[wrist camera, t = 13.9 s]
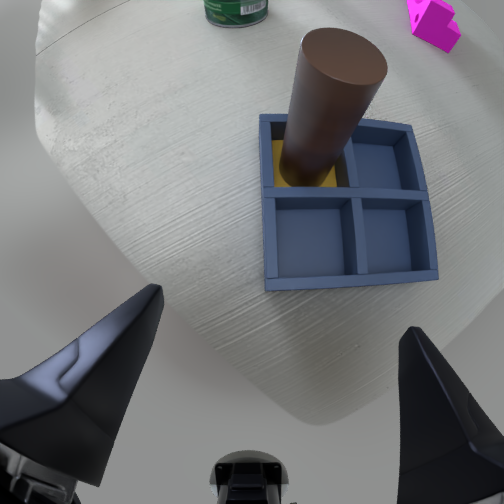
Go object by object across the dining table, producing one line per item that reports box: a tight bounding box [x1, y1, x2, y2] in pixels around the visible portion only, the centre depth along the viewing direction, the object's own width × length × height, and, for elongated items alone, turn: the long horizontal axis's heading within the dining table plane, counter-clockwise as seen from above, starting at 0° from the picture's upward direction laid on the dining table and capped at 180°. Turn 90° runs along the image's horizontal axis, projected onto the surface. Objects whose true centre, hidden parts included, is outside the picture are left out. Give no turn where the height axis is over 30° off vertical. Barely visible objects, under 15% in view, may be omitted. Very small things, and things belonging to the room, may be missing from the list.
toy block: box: [407, 0, 461, 53], centre depth 24 cm, size 15×6×8 cm, turn 163°
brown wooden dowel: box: [279, 28, 388, 187], centre depth 16 cm, size 4×4×13 cm
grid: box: [259, 114, 439, 291], centre depth 21 cm, size 13×13×4 cm
